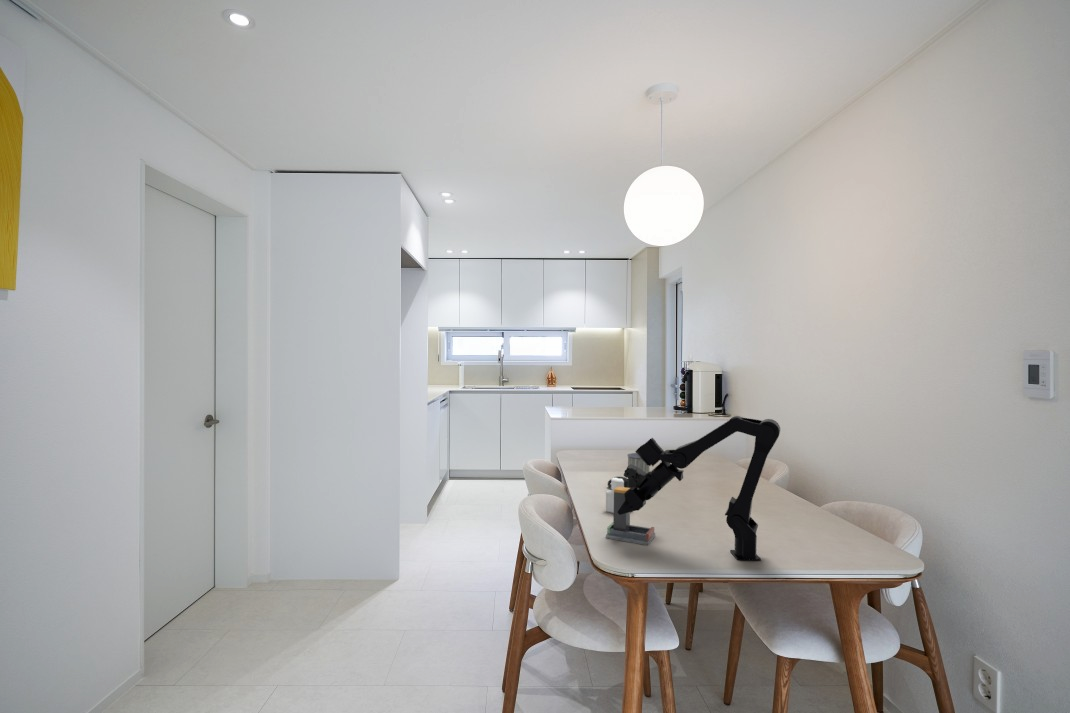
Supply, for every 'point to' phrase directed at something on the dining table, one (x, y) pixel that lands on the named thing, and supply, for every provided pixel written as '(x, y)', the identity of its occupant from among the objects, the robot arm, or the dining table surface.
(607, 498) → the medicine bottle
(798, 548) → the dining table surface
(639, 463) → the milk frother
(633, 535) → the grey rectangular tray
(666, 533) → the dining table surface
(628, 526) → the block
